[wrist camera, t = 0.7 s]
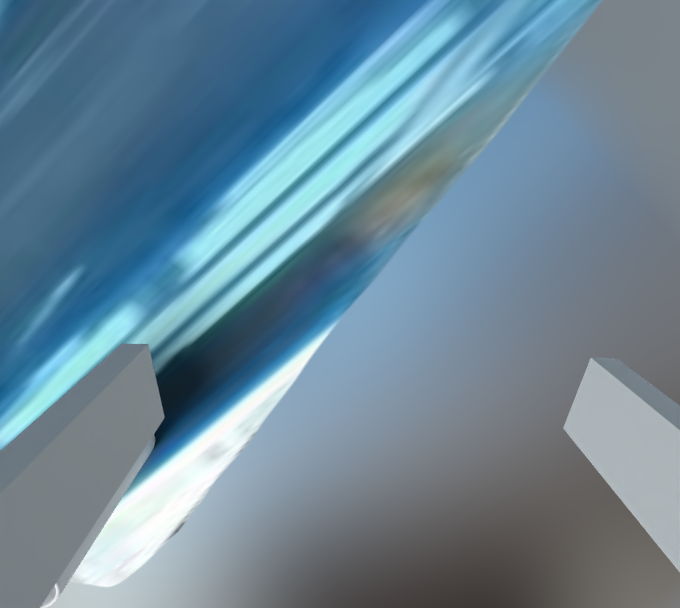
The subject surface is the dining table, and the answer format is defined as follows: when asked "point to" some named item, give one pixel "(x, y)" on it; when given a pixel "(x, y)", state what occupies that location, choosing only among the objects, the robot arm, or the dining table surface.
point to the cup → (97, 527)
